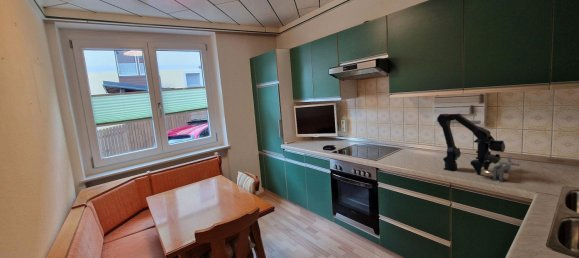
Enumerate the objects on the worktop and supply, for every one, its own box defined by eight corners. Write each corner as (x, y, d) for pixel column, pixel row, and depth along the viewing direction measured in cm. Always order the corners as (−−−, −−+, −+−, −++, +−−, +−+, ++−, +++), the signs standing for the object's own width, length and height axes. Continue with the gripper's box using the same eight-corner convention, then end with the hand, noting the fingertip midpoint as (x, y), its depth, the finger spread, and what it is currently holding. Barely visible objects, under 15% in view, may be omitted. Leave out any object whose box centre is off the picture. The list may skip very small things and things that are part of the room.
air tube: (475, 174, 163) (475, 168, 163) (478, 174, 165) (478, 167, 165) (506, 180, 149) (506, 173, 149) (508, 180, 152) (509, 173, 151)
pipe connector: (519, 169, 165) (520, 155, 163) (518, 174, 158) (519, 158, 157) (500, 167, 172) (500, 153, 170) (497, 171, 165) (498, 157, 164)
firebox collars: (492, 180, 153) (492, 167, 151) (500, 176, 158) (500, 163, 157) (501, 182, 149) (501, 169, 148) (509, 177, 154) (509, 165, 153)
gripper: (491, 154, 148) (490, 180, 150) (505, 148, 157) (504, 172, 159) (470, 151, 157) (469, 175, 159) (484, 146, 166) (483, 169, 169)
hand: (482, 173), depth 161 cm, fingers open, 9 cm apart
